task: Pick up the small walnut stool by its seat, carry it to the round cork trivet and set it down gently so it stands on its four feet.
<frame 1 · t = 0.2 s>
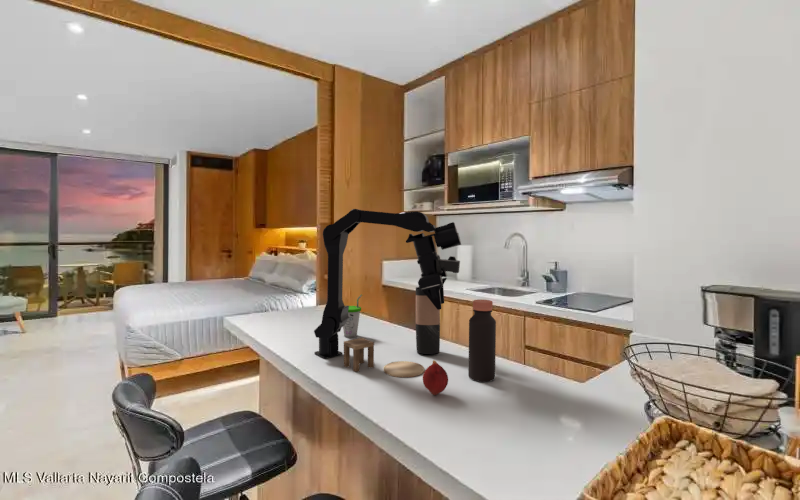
hand: (441, 306, 113), 16 cm above the countertop, tool tilted 15°, fingers open, 8 cm apart
cup: (350, 336, 142), on the countertop
trivet: (403, 370, 107), on the countertop
stool: (358, 366, 109), on the countertop
bottle: (481, 378, 102), on the countertop
onion: (435, 395, 91), on the countertop
travel mug: (428, 352, 122), on the countertop, touching gripper
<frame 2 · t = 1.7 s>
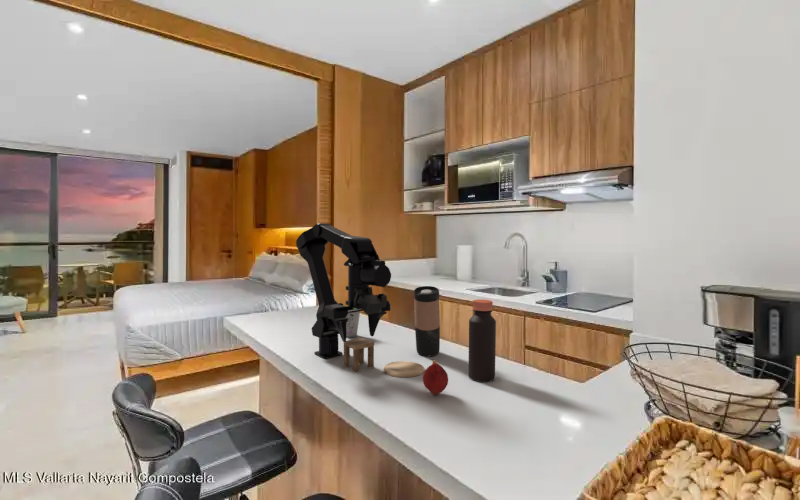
hand: (358, 338, 109), 8 cm above the countertop, tool pointing down, fingers open, 9 cm apart
travel mug: (428, 351, 122), point 1 cm above the countertop
everything else where it was.
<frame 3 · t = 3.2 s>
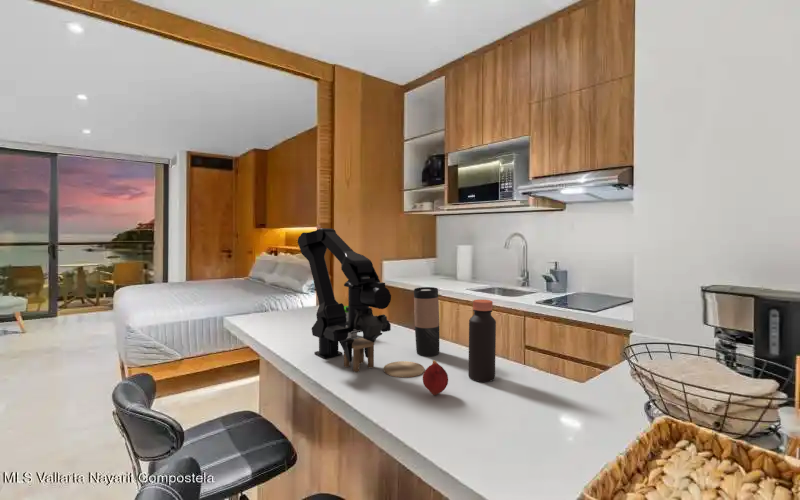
hand: (358, 359, 109), 2 cm above the countertop, tool pointing down, fingers closed on stool, 5 cm apart
stool: (358, 366, 109), on the countertop, touching gripper
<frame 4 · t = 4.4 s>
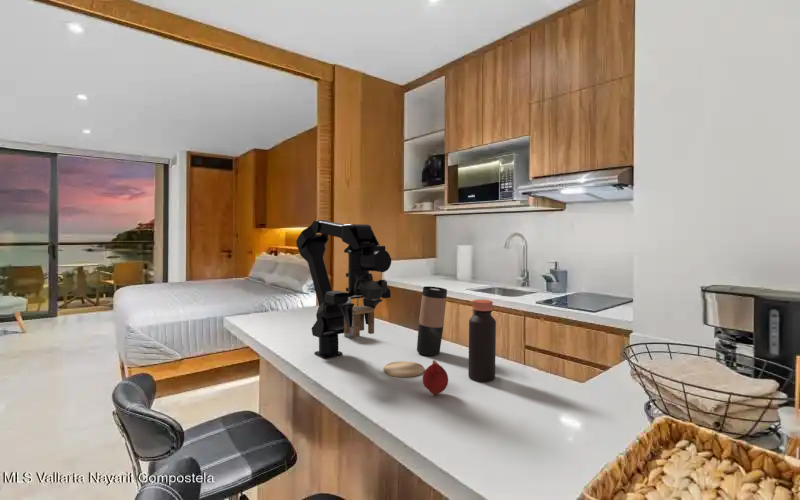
hand: (358, 325, 109), 12 cm above the countertop, tool pointing down, fingers closed on stool, 5 cm apart
stool: (359, 333, 109), point 10 cm above the countertop, touching gripper
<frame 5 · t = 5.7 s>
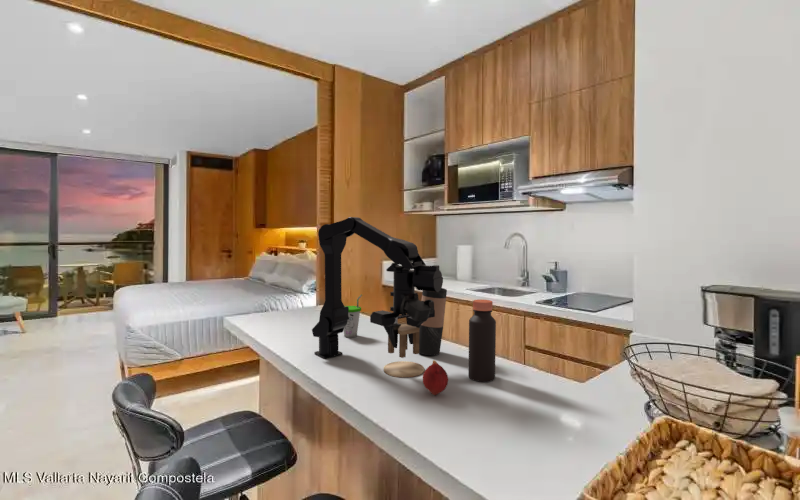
hand: (403, 345, 107), 7 cm above the countertop, tool pointing down, fingers closed on stool, 5 cm apart
stool: (403, 353, 107), point 5 cm above the countertop, touching gripper
when the fingers open (3 cm above the countertop, at t = 7.1 s): stool stays where it is, resting on trivet.
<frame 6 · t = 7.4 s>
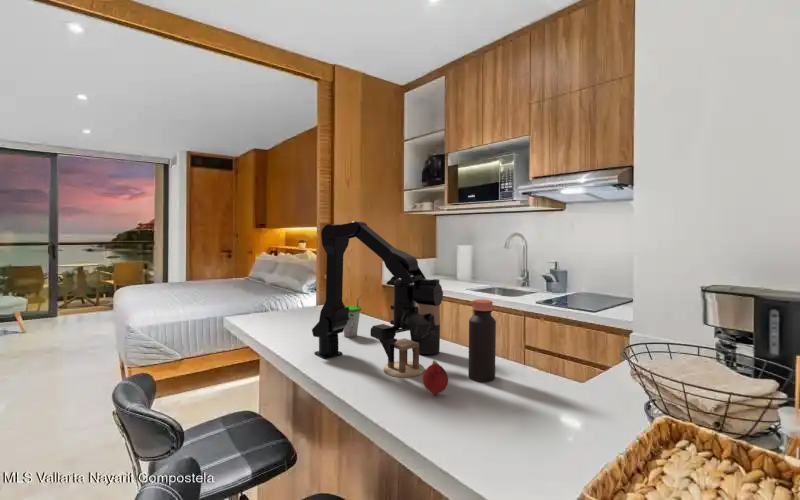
hand: (403, 359, 107), 3 cm above the countertop, tool pointing down, fingers open, 8 cm apart
stool: (403, 367, 107), point 1 cm above the countertop, touching trivet
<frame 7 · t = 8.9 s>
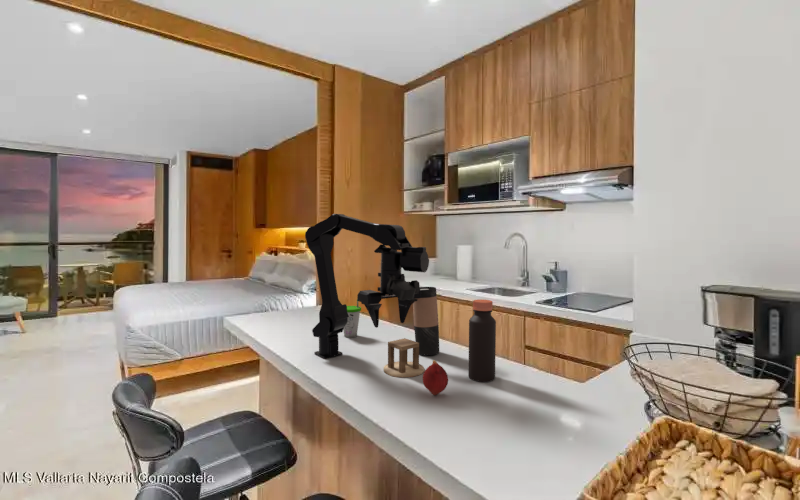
hand: (389, 325, 110), 11 cm above the countertop, tool pointing down, fingers open, 9 cm apart
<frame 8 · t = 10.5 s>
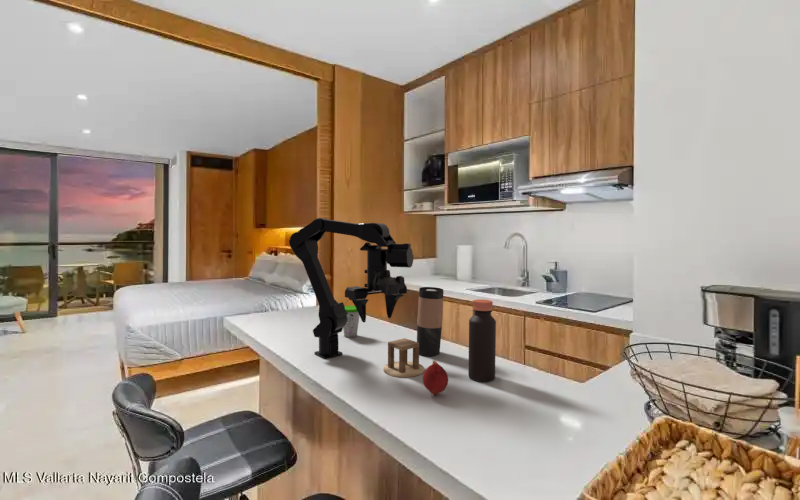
hand: (376, 319, 114), 12 cm above the countertop, tool pointing down, fingers open, 9 cm apart
at the end: stool inside the target area on the trivet (0.1 cm from its centre), point 0.6 cm above the trivet's base; stool tilted 0°; the gripper is holding nothing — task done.
